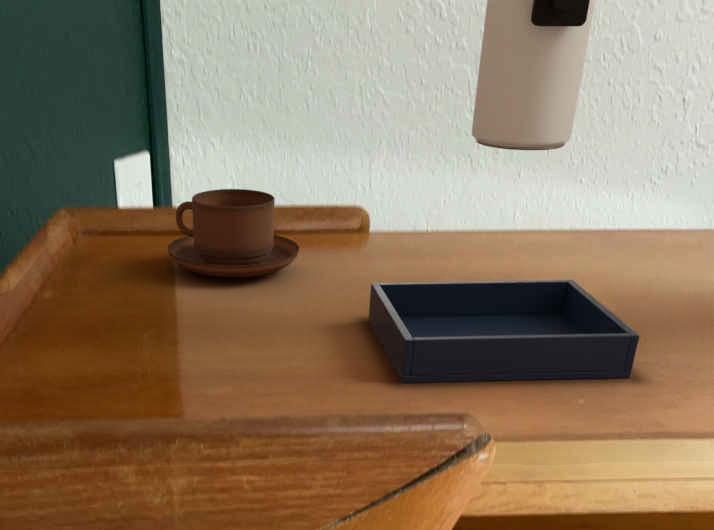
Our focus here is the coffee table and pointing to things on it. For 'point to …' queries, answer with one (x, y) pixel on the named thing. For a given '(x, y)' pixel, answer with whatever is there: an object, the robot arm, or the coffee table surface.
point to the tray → (499, 331)
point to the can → (527, 78)
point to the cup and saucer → (231, 235)
